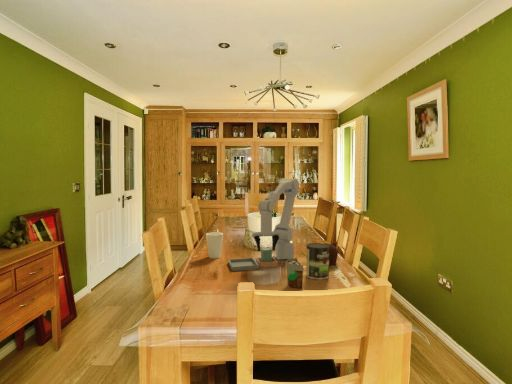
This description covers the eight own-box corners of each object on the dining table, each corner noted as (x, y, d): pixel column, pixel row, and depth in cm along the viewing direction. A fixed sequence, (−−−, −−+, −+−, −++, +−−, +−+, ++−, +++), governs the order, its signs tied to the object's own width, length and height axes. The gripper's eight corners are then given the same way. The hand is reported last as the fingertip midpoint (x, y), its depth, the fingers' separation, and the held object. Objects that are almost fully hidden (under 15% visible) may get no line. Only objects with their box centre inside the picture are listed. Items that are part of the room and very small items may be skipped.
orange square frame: (272, 261, 176) (272, 256, 176) (277, 266, 167) (277, 261, 167) (255, 262, 174) (255, 257, 174) (259, 267, 165) (259, 262, 165)
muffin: (319, 259, 180) (319, 240, 180) (340, 261, 176) (340, 242, 175) (313, 265, 170) (313, 245, 169) (335, 267, 165) (335, 247, 164)
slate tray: (252, 261, 176) (252, 257, 176) (258, 269, 163) (258, 265, 163) (228, 263, 173) (228, 259, 173) (232, 271, 160) (232, 266, 160)
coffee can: (333, 277, 150) (334, 246, 149) (315, 281, 145) (315, 249, 144) (319, 271, 159) (319, 242, 158) (301, 274, 154) (301, 244, 154)
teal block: (269, 263, 173) (269, 247, 173) (271, 265, 169) (271, 249, 168) (261, 263, 172) (261, 248, 172) (263, 266, 168) (263, 250, 168)
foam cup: (220, 259, 180) (220, 235, 179) (203, 258, 182) (203, 235, 181) (225, 255, 190) (225, 232, 189) (209, 254, 191) (209, 231, 191)
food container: (282, 280, 146) (282, 258, 145) (296, 280, 147) (296, 257, 146) (287, 290, 134) (288, 266, 133) (303, 290, 134) (303, 265, 134)
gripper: (254, 225, 164) (254, 253, 165) (282, 224, 167) (282, 251, 168) (251, 223, 171) (251, 249, 172) (278, 222, 174) (278, 248, 175)
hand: (266, 250), depth 170 cm, fingers open, 7 cm apart
